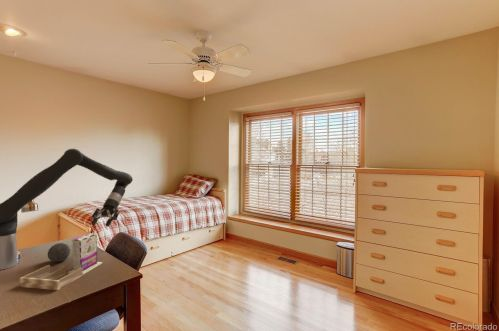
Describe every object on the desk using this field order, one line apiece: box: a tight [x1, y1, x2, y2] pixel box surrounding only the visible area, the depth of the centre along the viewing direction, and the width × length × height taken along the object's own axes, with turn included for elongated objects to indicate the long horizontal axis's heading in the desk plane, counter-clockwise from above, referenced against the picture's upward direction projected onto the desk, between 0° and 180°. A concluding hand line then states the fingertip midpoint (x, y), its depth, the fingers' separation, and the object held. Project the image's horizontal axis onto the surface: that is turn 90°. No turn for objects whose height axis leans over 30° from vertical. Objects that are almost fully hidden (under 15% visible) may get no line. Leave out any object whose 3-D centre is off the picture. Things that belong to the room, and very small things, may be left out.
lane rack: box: [19, 264, 84, 291], centre depth 121 cm, size 19×14×4 cm
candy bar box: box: [71, 232, 98, 271], centre depth 135 cm, size 11×5×16 cm, turn 170°
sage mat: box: [66, 261, 104, 275], centre depth 135 cm, size 9×14×1 cm, turn 172°
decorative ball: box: [47, 242, 71, 263], centre depth 143 cm, size 10×10×10 cm
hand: (99, 225), depth 145 cm, fingers open, 8 cm apart
